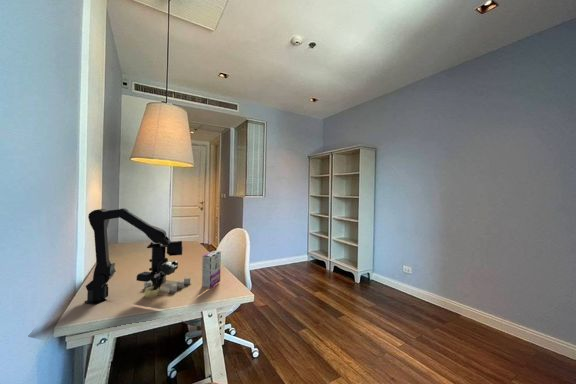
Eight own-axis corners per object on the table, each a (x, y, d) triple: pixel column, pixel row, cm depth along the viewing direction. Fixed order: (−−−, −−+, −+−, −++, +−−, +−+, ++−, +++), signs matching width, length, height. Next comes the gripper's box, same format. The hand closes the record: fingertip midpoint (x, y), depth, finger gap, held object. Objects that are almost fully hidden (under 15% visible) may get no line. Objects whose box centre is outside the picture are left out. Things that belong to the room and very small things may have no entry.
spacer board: (162, 302, 102) (162, 293, 102) (129, 296, 106) (129, 288, 106) (192, 285, 121) (192, 277, 121) (163, 281, 125) (163, 274, 125)
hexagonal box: (152, 298, 103) (152, 291, 103) (141, 296, 105) (141, 290, 105) (161, 293, 108) (161, 287, 108) (150, 292, 110) (151, 285, 110)
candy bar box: (212, 280, 129) (212, 250, 129) (220, 281, 128) (221, 251, 128) (201, 288, 118) (202, 255, 118) (210, 289, 117) (211, 256, 117)
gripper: (157, 263, 99) (156, 300, 99) (186, 253, 117) (185, 284, 117) (136, 261, 102) (135, 297, 102) (167, 251, 120) (167, 281, 120)
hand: (157, 289), depth 110 cm, fingers closed
